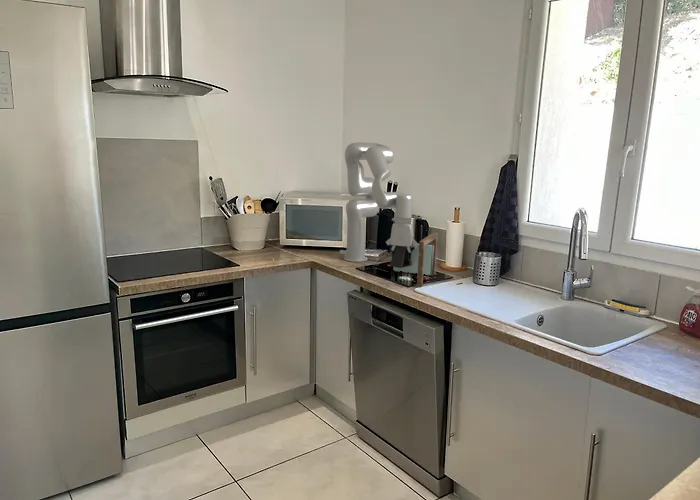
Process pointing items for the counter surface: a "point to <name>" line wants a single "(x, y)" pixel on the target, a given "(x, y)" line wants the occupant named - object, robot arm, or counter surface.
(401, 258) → the door stopper
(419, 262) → the door frame
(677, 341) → the counter surface
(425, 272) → the door
